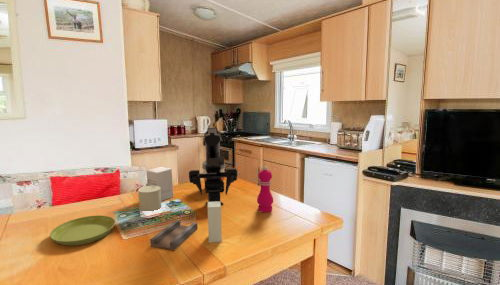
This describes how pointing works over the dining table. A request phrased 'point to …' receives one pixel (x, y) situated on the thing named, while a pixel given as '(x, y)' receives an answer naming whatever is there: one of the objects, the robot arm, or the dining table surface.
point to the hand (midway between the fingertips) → (214, 195)
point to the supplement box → (161, 181)
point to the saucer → (82, 230)
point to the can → (149, 198)
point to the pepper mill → (265, 191)
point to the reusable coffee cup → (220, 170)
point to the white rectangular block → (214, 222)
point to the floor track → (173, 235)
